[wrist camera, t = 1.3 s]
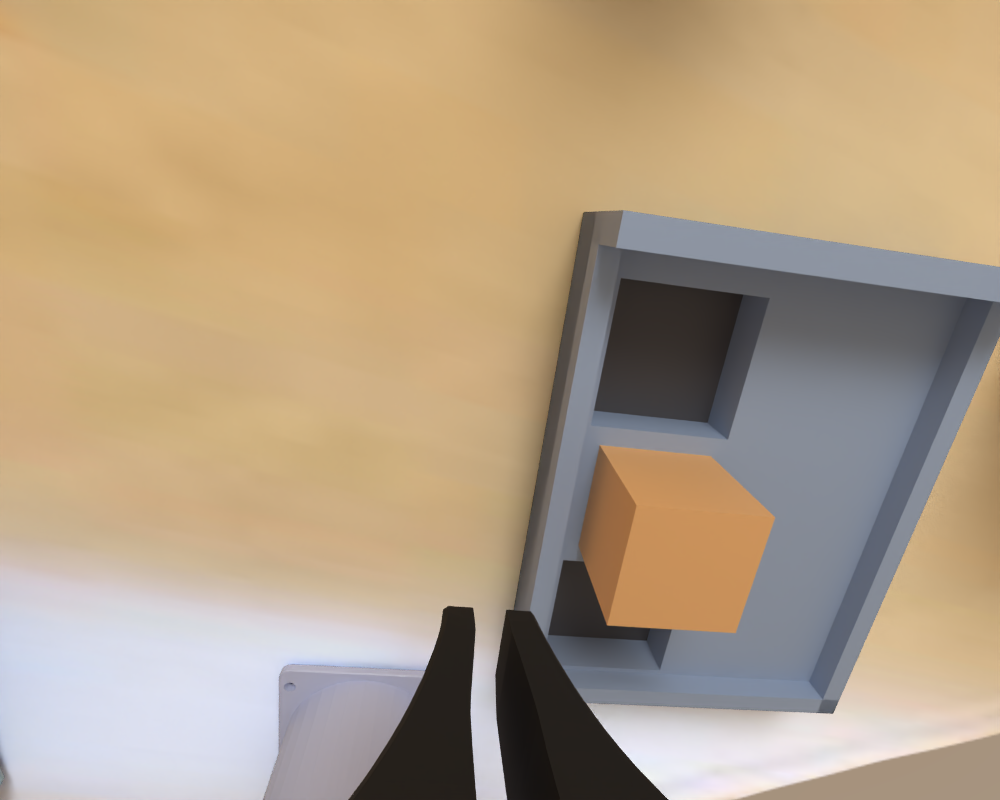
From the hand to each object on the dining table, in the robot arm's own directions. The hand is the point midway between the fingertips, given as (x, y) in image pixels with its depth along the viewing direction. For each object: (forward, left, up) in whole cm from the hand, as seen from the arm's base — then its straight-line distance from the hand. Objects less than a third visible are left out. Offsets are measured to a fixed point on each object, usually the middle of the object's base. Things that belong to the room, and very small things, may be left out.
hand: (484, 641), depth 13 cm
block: (0, -7, -8) cm, 10 cm away
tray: (+1, -10, -10) cm, 14 cm away
